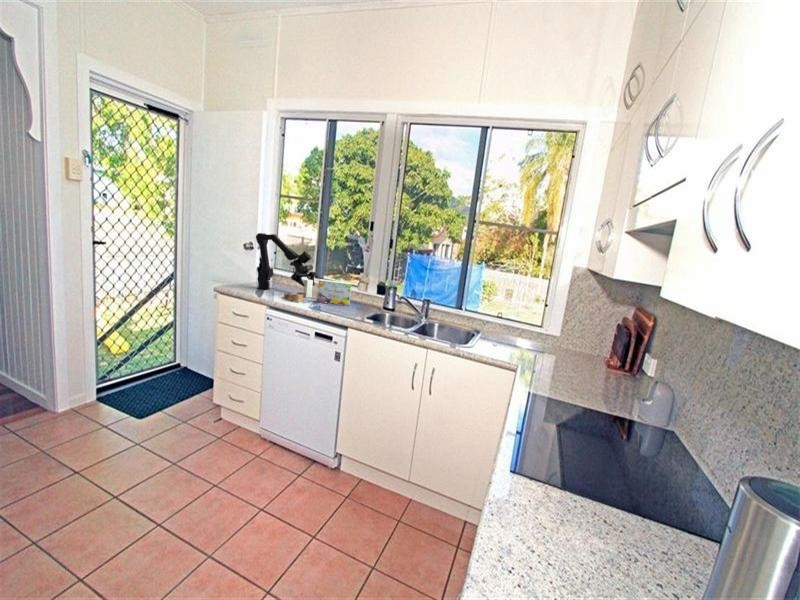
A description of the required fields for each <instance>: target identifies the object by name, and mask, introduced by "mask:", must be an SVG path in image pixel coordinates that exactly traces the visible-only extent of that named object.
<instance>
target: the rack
mask: <svg viewBox="0 0 800 600" xmlns="http://www.w3.org/2000/svg"><path fill="white" fill-rule="evenodd" d="M292 293H293V292H291V293H290V292H289V293H284V294H283V299H285V298H286V299H285V300H288V299H289V297H290V294H292ZM296 293H297V294H301V295H303V298H305V299H307V298H306V294H304V293H303V292H296Z"/></svg>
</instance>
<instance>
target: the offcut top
mask: <svg viewBox="0 0 800 600" xmlns="http://www.w3.org/2000/svg"><path fill="white" fill-rule="evenodd" d="M291 293H292V294H290V298H294V299H298V300H299V299H303V295H301V294H297V293H298V292H291Z"/></svg>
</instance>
